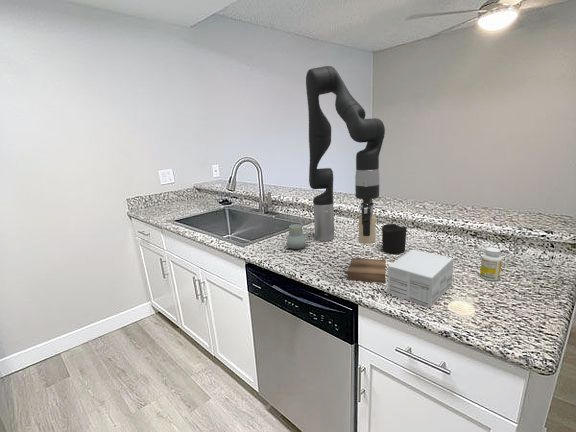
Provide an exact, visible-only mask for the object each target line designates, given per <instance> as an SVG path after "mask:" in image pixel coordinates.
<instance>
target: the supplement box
mask: <svg viewBox="0 0 576 432" xmlns="http://www.w3.org/2000/svg"><path fill="white" fill-rule="evenodd" d="M453 272H454V258H453V257H450V256H446V255H441V254H436V253H431V252H427V251H422V250H418V249H411V250H409V251H408V252H406V253H405V254H404V255H402V256H400V257H399V258H398V259H396V260H394V261H393V262H392V263H391V264H389V265H388V266H387V294H389V295H392V296H395V297H398V298H400V299H405V300H407V301H410V302H413V303H416V304H420V305H421V306H425V307H428V308H432V307H433V306H434V304H435V303H437V301H439V299H440V298H441V297H442V296H443V295H444V294H445V293H446V292H447V290H449V289H450V287H451V286H452V285H453Z"/></svg>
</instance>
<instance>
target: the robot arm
mask: <svg viewBox="0 0 576 432" xmlns="http://www.w3.org/2000/svg"><path fill="white" fill-rule="evenodd" d="M305 89H306V97H307V98H306V99H307V108H308V150H309V165H308V167H309V168H308V169H309V171H308V183H309V187H310V188H311V189H312V190H324V189H325V190H324V191H323V192H322V193H320V194H318V195H316V196H314V197H313V199H312V201H313V203H312V204H313V205H312V206H313V224H314V239H316V240H315V241H317V240H318V242H330V241H329V240H331V241H333V240H335V214H334V213H335V212H334V172H333V170H332V168H330V167H325V168H322V167H321V168H318V166H319V163H320V161H321V159H322V158H323V157H324V155H325V154H326V152H327V151H328V149H329V148H330V145H331V142H332V125H331V123H330V121H329V119H328V118H327V117H326V115H325V114H324V112H323V110H322V109H321V106H320V95H326V94H330V93H333V94H334V95H335V101H334V102H335V103H334V105H335V106H334V107H335V110H336V112H337V114H338V116H339V117H340V118H341V119H342V120H343V122H344V123H345V125H346V128H347V131H348V133H349V136H350V138H351V139H352V140H353V142H356V143H361V144H363V143H366V146H365V148H364V149H362V150H359V151H358V152H356V155H355V176H354V178H355V182H354V183H355V185H354V186H355V188H354V189H355V198H357V199H359V200H362V202H361V203H360V210H361V211H360V215H361V217H362V225H363V236H370V224H371V222H370V219H371V218H372V213H373V214H374V206H375V205H374V202H373V200H375V199H378V198H380V169H379V168H380V167H379V166H380V164H379V163H380V159H379V157H380V152H381V149H382V146H383V142H384V138H385V135H386V134H385V133H386V128H385V124H384V122H383V121H382V120H381V119H379V118H377V117H376V118H366V111H365V109H364V108H363V106H362V105H361V104H360V103H359V102H358V101H357V100H356V99H355V98H354V96H353V95H352V94H351V92H350V91H349V90H348V88H347V85H346V84H345V82H344V80H343V78H342V77H341V76H340V73H339V72H338V70H336V69H335V67H334V66H332V65H325V66H318V67H313V68H310V69H308V70H307V72H306V76H305ZM364 218H368V221H364Z"/></svg>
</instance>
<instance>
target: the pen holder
mask: <svg viewBox="0 0 576 432" xmlns="http://www.w3.org/2000/svg"><path fill="white" fill-rule="evenodd" d="M407 231H408V229H407V226H399V225H397V224H394V223H387V224H384V225H382V227H381V233H382V234H381V236H382V237H381V239H382V240H381V241H382V242H381V245H382V250H383V252H384V253H387V254H390V255H391V254H392V255H400V254H403V253H404V252H405V251H406V241H407V239H406V238H407Z"/></svg>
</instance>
